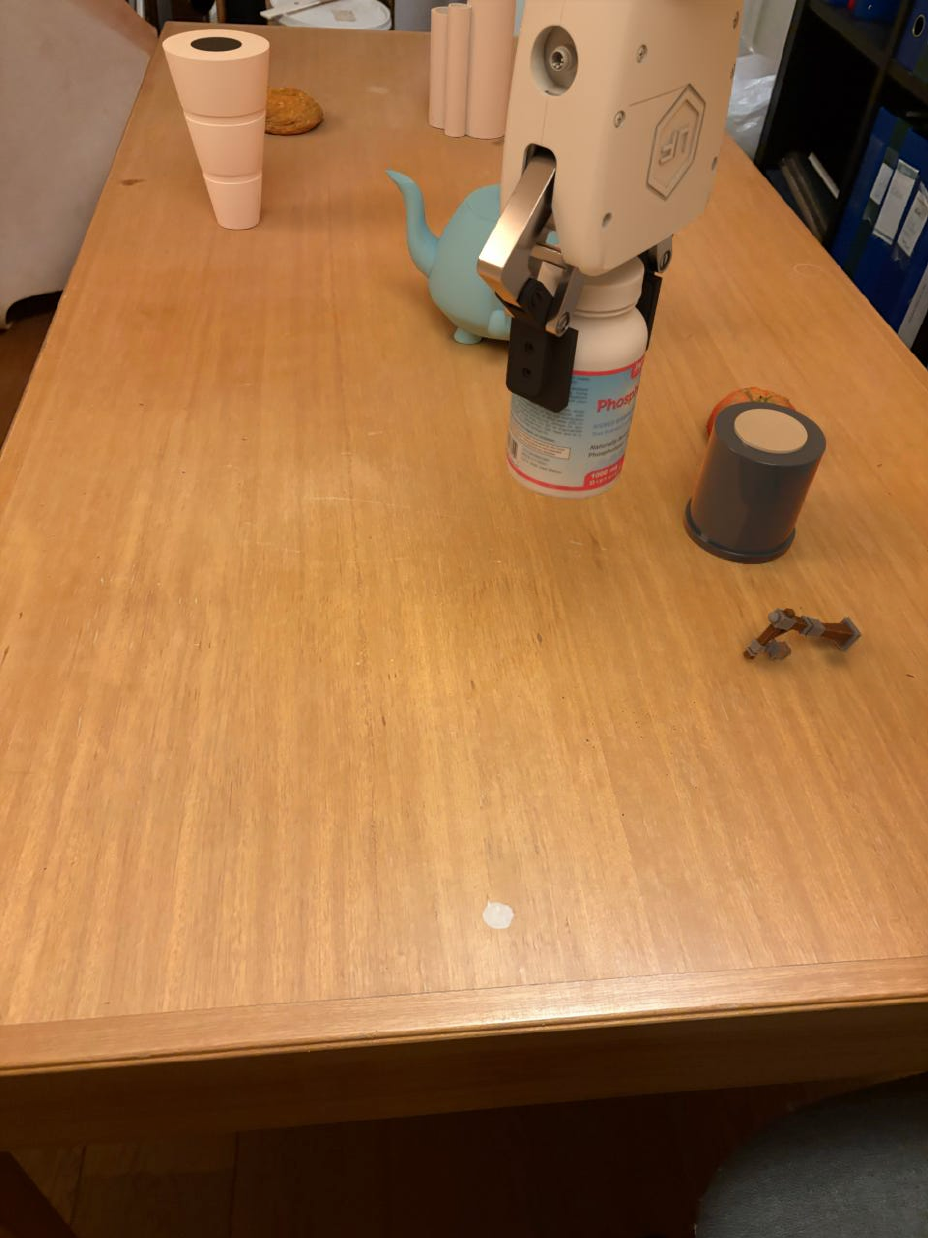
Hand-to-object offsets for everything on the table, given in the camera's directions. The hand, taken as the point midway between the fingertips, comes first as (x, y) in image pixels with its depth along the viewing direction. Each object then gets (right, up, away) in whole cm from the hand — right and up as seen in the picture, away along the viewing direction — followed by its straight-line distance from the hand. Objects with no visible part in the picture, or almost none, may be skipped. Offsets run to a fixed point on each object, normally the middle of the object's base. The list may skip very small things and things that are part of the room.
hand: (578, 367), depth 45 cm
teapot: (-1, +18, +50) cm, 53 cm away
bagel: (-30, +57, +85) cm, 107 cm away
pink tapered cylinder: (-32, +34, +63) cm, 78 cm away
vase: (-5, +57, +88) cm, 105 cm away
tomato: (+20, +3, +37) cm, 42 cm away
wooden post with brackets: (+18, -15, +20) cm, 30 cm away
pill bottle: (0, -4, +4) cm, 6 cm away
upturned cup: (+16, -5, +29) cm, 33 cm away
